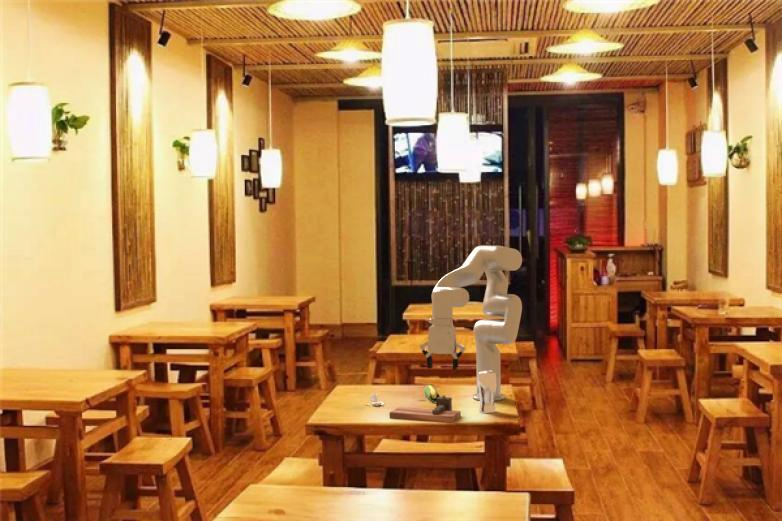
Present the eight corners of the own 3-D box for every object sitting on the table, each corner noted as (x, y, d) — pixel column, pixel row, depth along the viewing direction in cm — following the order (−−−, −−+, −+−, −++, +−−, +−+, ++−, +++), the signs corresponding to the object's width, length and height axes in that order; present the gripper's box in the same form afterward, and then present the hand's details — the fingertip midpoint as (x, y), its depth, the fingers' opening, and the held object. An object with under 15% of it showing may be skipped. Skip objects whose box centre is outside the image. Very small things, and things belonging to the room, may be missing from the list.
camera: (439, 412, 362) (438, 394, 362) (451, 413, 360) (451, 394, 360) (428, 420, 351) (428, 401, 351) (441, 421, 349) (441, 402, 349)
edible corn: (435, 394, 399) (434, 383, 399) (442, 404, 379) (442, 392, 379) (422, 394, 398) (422, 383, 398) (429, 404, 378) (429, 393, 378)
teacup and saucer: (381, 407, 375) (381, 397, 375) (361, 407, 376) (361, 396, 376) (386, 403, 383) (386, 392, 383) (366, 402, 385) (366, 392, 385)
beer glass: (478, 413, 360) (477, 373, 359) (477, 409, 367) (477, 370, 366) (497, 413, 360) (496, 373, 359) (496, 409, 366) (495, 370, 366)
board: (399, 412, 364) (399, 407, 364) (460, 416, 355) (460, 411, 355) (389, 417, 355) (389, 412, 355) (452, 422, 346) (452, 416, 346)
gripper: (416, 322, 358) (417, 369, 359) (461, 324, 352) (462, 371, 352) (423, 320, 365) (423, 366, 366) (467, 322, 359) (468, 368, 359)
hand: (442, 368), depth 359 cm, fingers open, 9 cm apart
